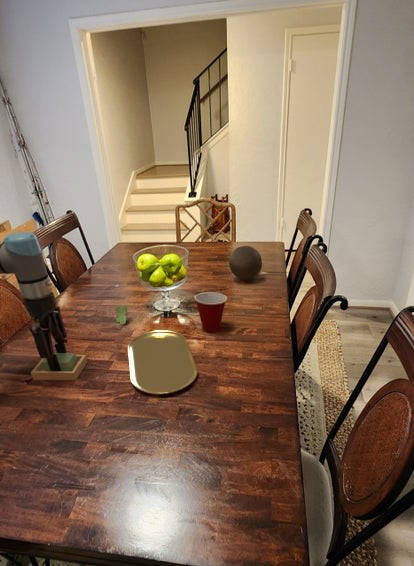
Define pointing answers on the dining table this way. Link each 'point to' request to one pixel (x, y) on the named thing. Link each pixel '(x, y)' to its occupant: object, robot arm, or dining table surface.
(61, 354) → the green rectangular block
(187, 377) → the serving platter
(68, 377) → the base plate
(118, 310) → the seedling
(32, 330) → the robot arm
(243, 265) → the dark grey ball
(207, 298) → the plastic cup
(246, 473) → the dining table surface
